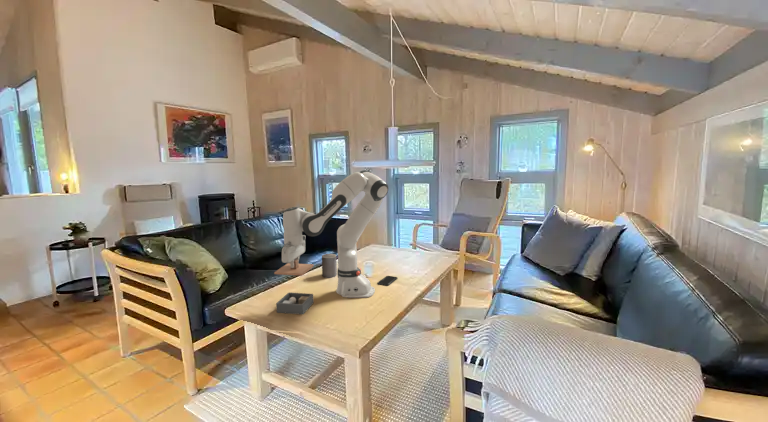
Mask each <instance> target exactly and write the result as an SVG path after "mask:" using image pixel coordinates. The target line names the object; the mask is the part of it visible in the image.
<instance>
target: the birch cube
mask: <svg viewBox="0 0 768 422" xmlns="http://www.w3.org/2000/svg"><path fill="white" fill-rule="evenodd" d="M307 298H308V297H306V296H301V297H300V298H299V304H302V303H303V302H304V301H305V300H306V299H307Z"/></svg>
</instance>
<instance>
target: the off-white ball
mask: <svg viewBox="0 0 768 422" xmlns="http://www.w3.org/2000/svg"><path fill="white" fill-rule="evenodd" d="M289 301H292V304H295V303H296V298H295V297H291V298H290V299H289Z"/></svg>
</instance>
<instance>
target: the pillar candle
mask: <svg viewBox="0 0 768 422" xmlns="http://www.w3.org/2000/svg"><path fill="white" fill-rule="evenodd" d="M337 264H338V260H337V254H335V253H324V254H322V255H321V276H322V277H323V278H326V279H329V278H335V277H336V276H338V275H337V271H338V265H337Z"/></svg>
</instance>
